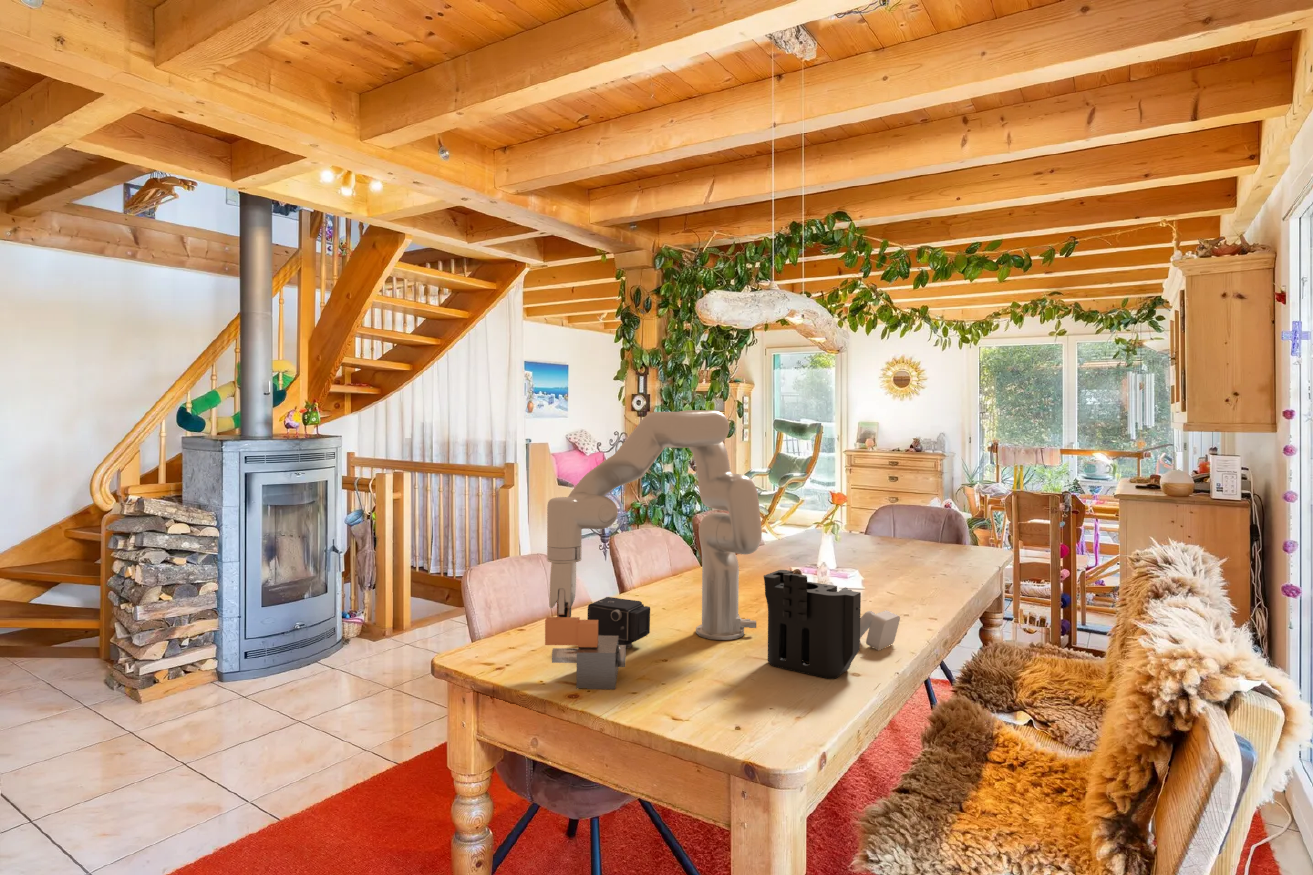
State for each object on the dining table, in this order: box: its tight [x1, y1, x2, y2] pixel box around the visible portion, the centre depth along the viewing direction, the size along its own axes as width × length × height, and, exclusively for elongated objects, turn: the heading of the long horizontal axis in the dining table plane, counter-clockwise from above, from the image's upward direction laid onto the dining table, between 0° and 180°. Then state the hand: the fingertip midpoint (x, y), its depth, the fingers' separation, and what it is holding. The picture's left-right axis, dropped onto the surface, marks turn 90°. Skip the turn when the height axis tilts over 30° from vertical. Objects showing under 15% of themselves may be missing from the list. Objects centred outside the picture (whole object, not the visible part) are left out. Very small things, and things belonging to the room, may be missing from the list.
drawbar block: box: [576, 636, 619, 690], centre depth 158 cm, size 8×12×8 cm, turn 0°
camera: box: [586, 596, 651, 649], centre depth 182 cm, size 11×11×15 cm
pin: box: [551, 645, 627, 668], centre depth 158 cm, size 16×5×5 cm, turn 90°
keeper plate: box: [544, 616, 598, 647], centre depth 156 cm, size 11×3×6 cm, turn 90°
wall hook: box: [860, 609, 901, 651], centre depth 184 cm, size 8×10×10 cm
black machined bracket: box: [763, 569, 862, 680], centre depth 164 cm, size 12×21×22 cm, turn 54°
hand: (564, 635), depth 162 cm, fingers closed
